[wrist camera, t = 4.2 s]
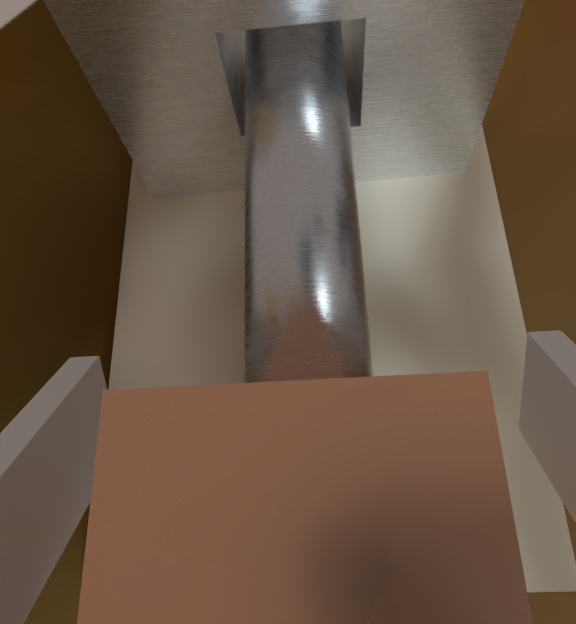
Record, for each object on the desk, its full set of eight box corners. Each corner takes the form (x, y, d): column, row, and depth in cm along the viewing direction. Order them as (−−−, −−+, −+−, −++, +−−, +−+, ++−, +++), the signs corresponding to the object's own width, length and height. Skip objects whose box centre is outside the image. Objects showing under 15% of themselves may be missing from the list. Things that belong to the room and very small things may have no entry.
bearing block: (436, 22, 23) (489, -265, 15) (464, 173, 20) (553, -82, 12) (165, 48, 24) (73, -208, 16) (153, 197, 21) (29, -24, 13)
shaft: (362, 94, 21) (380, -235, 12) (413, 575, 15) (537, 649, 6) (240, 105, 22) (168, -206, 13) (236, 579, 15) (73, 654, 6)
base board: (450, 27, 24) (455, 3, 23) (564, 586, 16) (581, 591, 14) (154, 56, 25) (145, 34, 24) (102, 596, 17) (86, 601, 15)
